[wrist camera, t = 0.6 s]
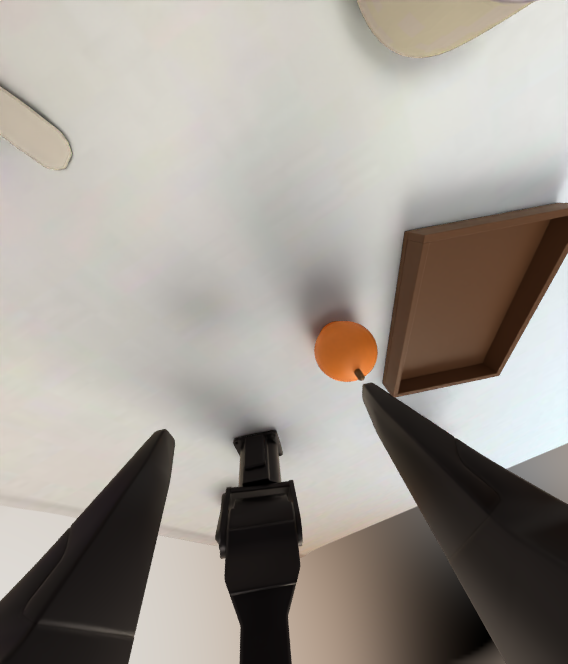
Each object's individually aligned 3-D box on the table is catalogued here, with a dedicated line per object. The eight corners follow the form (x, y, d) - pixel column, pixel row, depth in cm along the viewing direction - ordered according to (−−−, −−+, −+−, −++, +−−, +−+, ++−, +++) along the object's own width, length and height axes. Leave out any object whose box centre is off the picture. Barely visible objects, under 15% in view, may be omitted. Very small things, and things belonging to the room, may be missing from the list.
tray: (480, 362, 29) (499, 375, 27) (382, 383, 29) (392, 398, 27) (556, 202, 19) (596, 202, 17) (404, 231, 18) (424, 235, 16)
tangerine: (359, 350, 25) (392, 396, 19) (310, 360, 25) (328, 409, 19) (362, 305, 22) (402, 344, 16) (306, 316, 22) (326, 359, 16)
